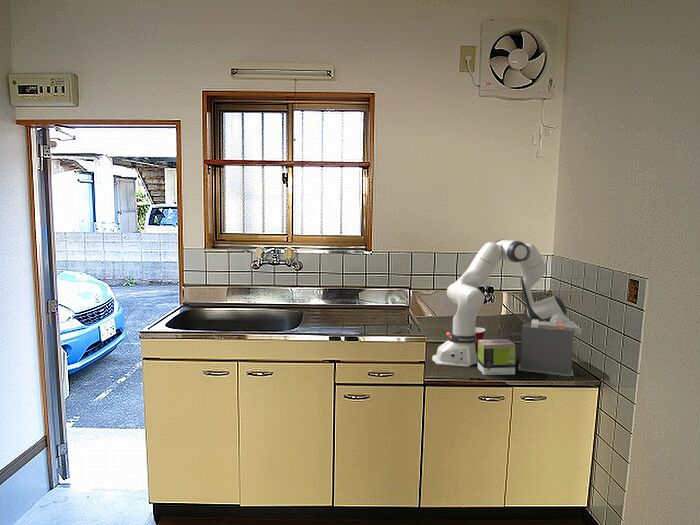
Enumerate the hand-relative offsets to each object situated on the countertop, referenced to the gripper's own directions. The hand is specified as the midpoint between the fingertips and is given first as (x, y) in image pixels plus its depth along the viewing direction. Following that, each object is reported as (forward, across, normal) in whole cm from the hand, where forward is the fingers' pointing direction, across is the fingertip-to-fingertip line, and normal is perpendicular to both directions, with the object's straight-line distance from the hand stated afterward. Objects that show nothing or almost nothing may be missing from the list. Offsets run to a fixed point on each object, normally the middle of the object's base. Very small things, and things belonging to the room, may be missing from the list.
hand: (559, 331), depth 229 cm
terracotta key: (+5, 0, +2) cm, 5 cm away
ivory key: (+6, -11, +2) cm, 12 cm away
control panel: (+7, -5, +18) cm, 20 cm away
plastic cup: (-13, -41, +18) cm, 47 cm away
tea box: (+18, -27, +18) cm, 37 cm away
